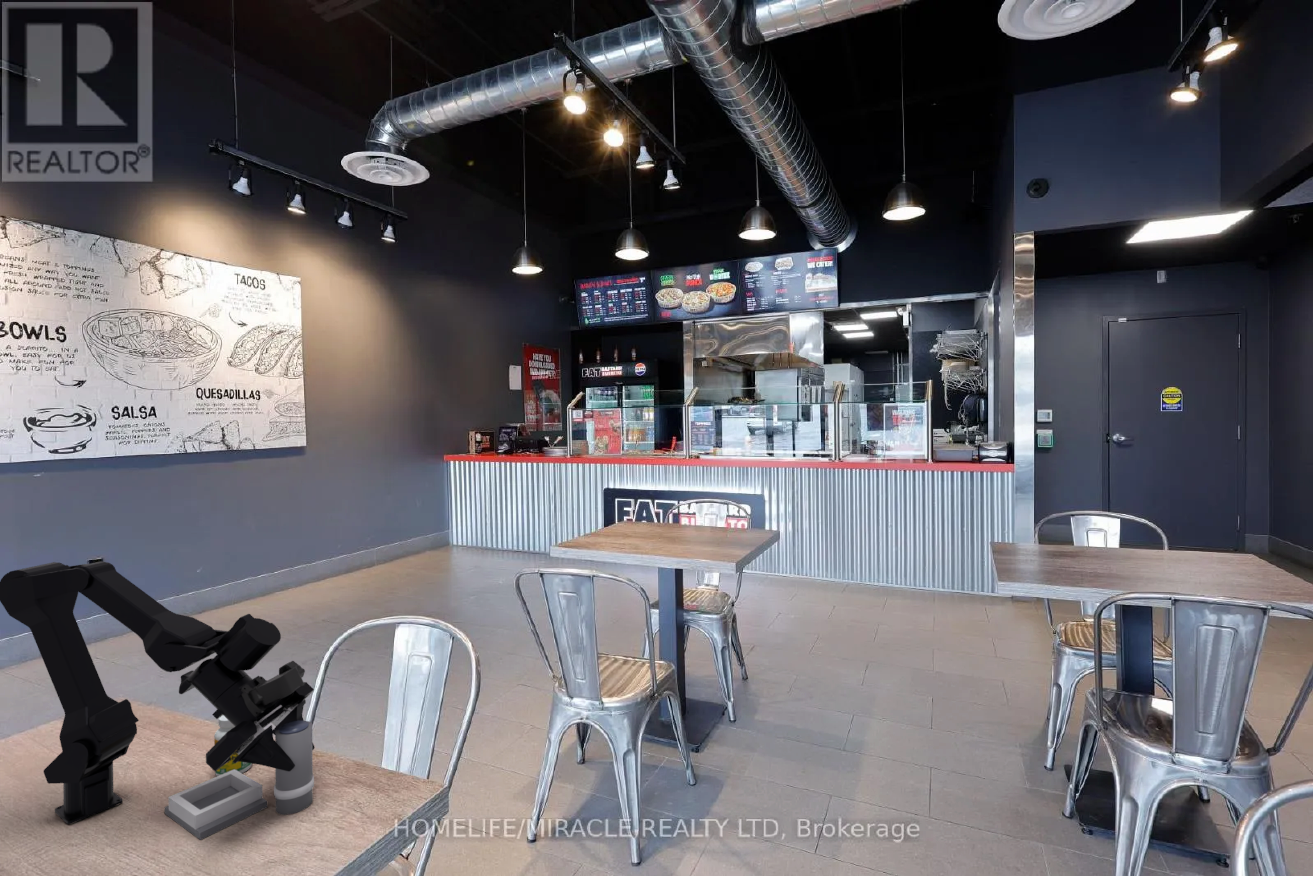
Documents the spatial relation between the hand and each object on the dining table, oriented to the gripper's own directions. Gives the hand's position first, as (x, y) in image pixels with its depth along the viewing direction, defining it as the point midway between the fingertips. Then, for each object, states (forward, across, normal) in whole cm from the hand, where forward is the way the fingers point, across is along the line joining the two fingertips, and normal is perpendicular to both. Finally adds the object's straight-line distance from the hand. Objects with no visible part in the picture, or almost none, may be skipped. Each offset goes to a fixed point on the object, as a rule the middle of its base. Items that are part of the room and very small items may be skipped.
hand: (302, 759), depth 95 cm
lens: (+4, 0, +6) cm, 7 cm away
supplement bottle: (-8, +10, +18) cm, 22 cm away
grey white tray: (-4, -1, +14) cm, 15 cm away
